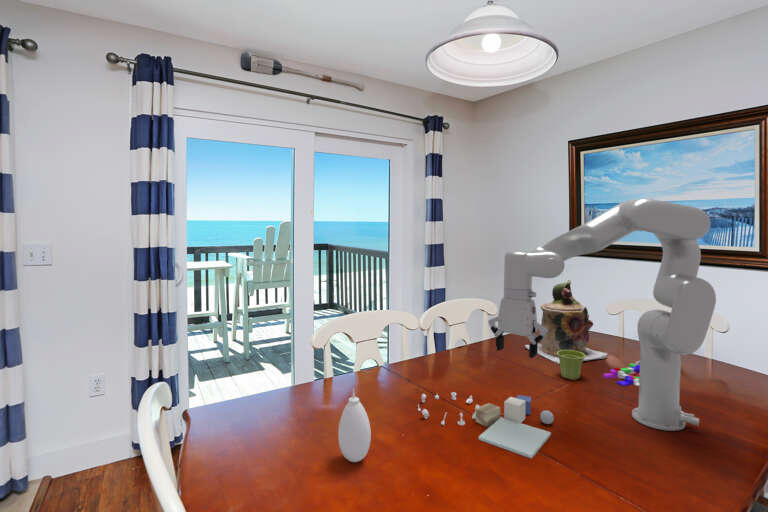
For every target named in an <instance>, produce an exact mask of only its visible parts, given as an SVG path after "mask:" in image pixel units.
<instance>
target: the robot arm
mask: <svg viewBox="0 0 768 512" xmlns="http://www.w3.org/2000/svg"><path fill="white" fill-rule="evenodd" d="M710 227H711V218H710V217H709V215H708V214H707V212H706V211H705V210H703V209H701V208H698V207H696V206H689V205H685V204H678V203H675V202H674V203H673V202H668V201H665V200H664V201H663V200H658V199H652V198H637V199H629V200H624V201H622V202H620V203H618V204H616V205H615V206H613V207H611V208H610V209H607V210H606V211H604V212H602V213H600V214H599V215H597V216H596V217H594V218H592V219H591V220H589V221H587V222H585V223H583V224H581V225H579V226H577V227H575V228H572V229H571V230H569V231H566V232H565V233H562V234H560V235H559V236H555V237H554V238H552V239H550V240H548V241H546V242H545V243H543V244H542V245H540V246H538V247H536V248H535V249H533V250H532V251H526V250H525V251H524V250H509V251H507V252H506V253H505V254H504V266H503V267H504V270H503V273H504V274H503V275H504V276H503V278H504V279H503V297H501V300H500V304H499V309H498V316H495V317H494V318H491V319H488V320H487V323H488V324H489V328H490V330H491V332H492V333H493V334H494V335H493V336H494V337H495V347H496V351H498V352H499V351H501V350H503V349H505V348H504V347H505V336H504V333H507V334H511V335H516V336H523V337H527V338H528V339H529V341H530V343H529V344H528V345H529V350H528V352H529V353H528V357H529V359H533V358H534V357H536V356H537V355H538V354H537V348H538V344H539V342H542V341H541V340H542V339H543V338H544V337H545V335H546V333H547V332H548V329H546V328H545V327H543V326H542V325H541V324H542V323H539V322H538V319H537V317H538V316H537V308H536V307H537V306H536V302H535V300H534V299H533V298H537V292H535V291H533V287H532V285H533V284H532V282H533V277H537V278H543V279H554V278H557V277H559V276H560V275H561V274H562V273H563V271H564V269H565V265H566V264H565V261H568V260H569V259H572V258H575V257H578V256H582V255H583V256H584V255H588V254H593V253H597V252H601V251H602V250H604V249H605V248H607V247H609V246H610V245H612V244H614V243H617V241H620V240H621V239H623V238H625V237H627V236H628V235H630V234H632V233H634V232H647V233H651V234H653V235H654V236H655V237H656V239H657V240H658V241H659V243H660V245H661V248H662V258H661V263H660V266H659V270H658V273H657V276H656V280H655V282H654V286H653V292H652V295H653V299H654V300H655V301H656V302H658V304H661V305H662V306H665V307H667V308H671V311H666V310H664V309H651V310H647V311H645V312H644V313H643V314H641V315H640V317H639V319H638V321H637V334H638V342H639V361H640V376H638V377H639V387H638V407H635V408H633V409H632V411H631V416H632V418H633V419H634V420H635V421H636V422H638V423H640V424H642V425H644V426H646V427H649V428H653V429H656V430H661V431H670V432H672V431H673V432H675V431H676V432H677V431H682V430H683V429H685V428H686V423H689V424H690V425H695V426H700V425H699V424H700V418H699V417H695V414H693V413H689V412H688V413H687V412H684V411H683V410H682V406H681V405H680V390H681V371H682V369H681V368H682V363H681V362H682V361H681V355H682V356H687V355H692V354H694V353H695V352H697V351H698V350H700V348H701V347H702V345H703V343H705V342H704V341H705V339H706V336H707V334H708V331H709V326H710V324H711V320H712V318H713V314H714V312H715V308H716V302H717V296H716V295H717V294H716V292H715V289H714V287H713V285H712V284H711V283H710V282H709V281H707V280H705V279H703V278H700V277H698V273H699V268H700V264H701V261H702V260H701V258H702V254H701V252H702V251H701V248H700V245H699V242H698V241H697V240H699V239H701V238H702V237H704V236H705V235H707V233H708V232H709V231H710ZM496 323H497V326H496ZM537 331H539V334H538V336H537V334H536V333H537Z"/></svg>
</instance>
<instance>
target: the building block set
mask: <svg viewBox="0 0 768 512" xmlns="http://www.w3.org/2000/svg"><path fill="white" fill-rule="evenodd" d="M639 376H640V360H638V361H635V363H633V362H632V363H628V367H622V368H619V367H614V368H612V369H610V370H609V373H603V374H602V377H603V378H605V379H607V380H609V379H616V378H618V379H620V381H616V384H617V385H619V386H622V387H627V386H631V385H634V386H635V387H638V388H639ZM621 379H623V380H621Z"/></svg>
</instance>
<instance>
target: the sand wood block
mask: <svg viewBox="0 0 768 512" xmlns="http://www.w3.org/2000/svg"><path fill="white" fill-rule="evenodd" d="M475 408H476V407H475ZM499 418H501V407H500V406H498V405H495V404H493V403H490V402H488V403H485V404H483V405H480V407H478V408H476V418H475V422H476V423H478V424H480V425H481V426H484V427H485V428H489V427H490V426H491V425H493V424H494V423H495V422H496V421H497V420H498V419H499Z"/></svg>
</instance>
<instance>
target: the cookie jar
mask: <svg viewBox="0 0 768 512" xmlns="http://www.w3.org/2000/svg"><path fill="white" fill-rule="evenodd" d="M571 284H572V281H571V280H570V279H568V280H567V281H566V282H563V283H562V282H561V283H557V284H556V285H554V286H553V288H552V294H551V296H552V298H553V301H552V302H547V303H543V304H541V305H540V310H541V311H542V316H541V322H540V324H541V325H542V326H543V327H545V328H546V329H548V332H547V333H546V335H545V337H544V338H543V339H542V340H541V341H540V342H541V343H538V348H537V355H538V356H541V357H543V358H545V359H547V360H550V361H552V362H553V363H556V364H558V365H560V360H559V357H558V354H557V352H558V351H560V350H573V351H578V352H581V353H583V354H585V358H584V360H583V361H582V362H585V361H591V360H592V361H594V360H600V359H602V360H603V359H605V358H607V356H608V353H607V352H603V351H598V350H593V349H590V348H589V347H587V346H588V345H589V343H590V333H589V331H590V329H592V327H593V326H594V322H593V320H590V319H589V317H590V314H589V312H588V308H587V306H584V305H582V303H580V302H579V301H578V300H576V298H575V297H574V296H573V293H572V288H571ZM529 345H530V344H525V345H524V347H525V349H527V350H528V351H529Z"/></svg>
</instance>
